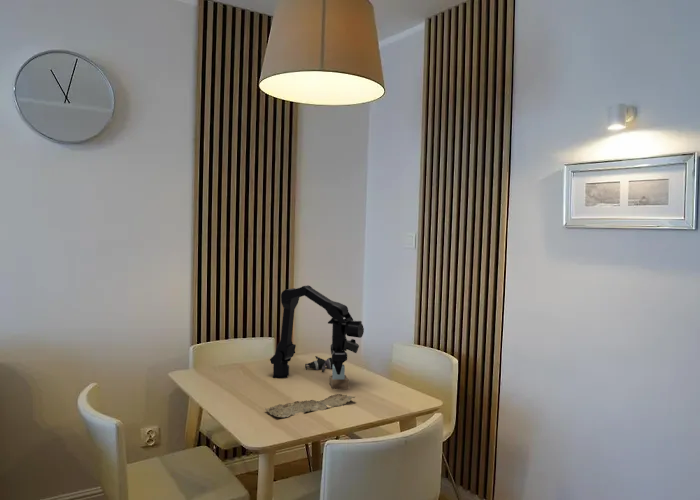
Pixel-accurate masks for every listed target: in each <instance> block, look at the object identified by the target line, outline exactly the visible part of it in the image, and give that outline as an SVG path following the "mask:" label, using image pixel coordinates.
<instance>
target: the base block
mask: <svg viewBox="0 0 700 500" xmlns="http://www.w3.org/2000/svg"><path fill="white" fill-rule="evenodd" d="M328 381H329V382H328V384H329V387H330V388H331V390H344V389H345V390H347V389H349V386H350V385H349V383H350V379H349V378H348V377H347V375H346V374H345V377H344V379H332V375H329V379H328Z"/></svg>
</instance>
